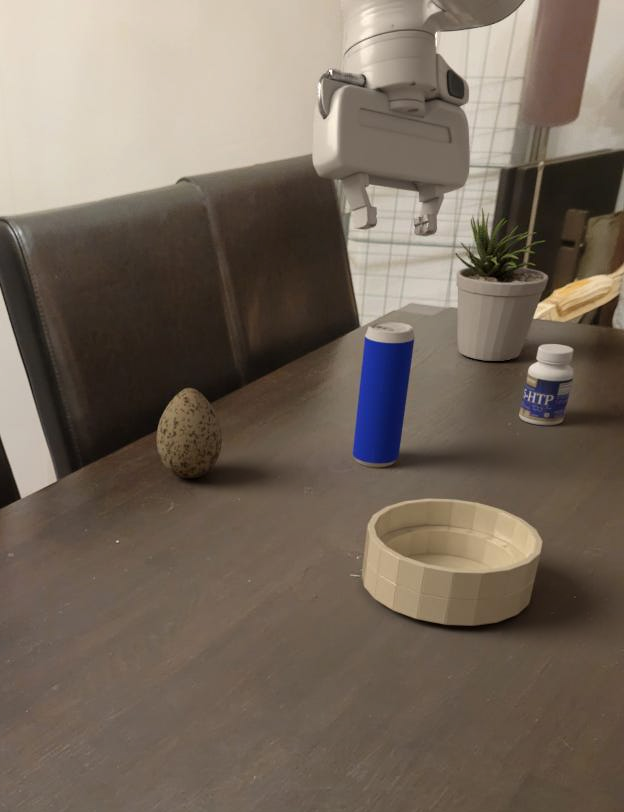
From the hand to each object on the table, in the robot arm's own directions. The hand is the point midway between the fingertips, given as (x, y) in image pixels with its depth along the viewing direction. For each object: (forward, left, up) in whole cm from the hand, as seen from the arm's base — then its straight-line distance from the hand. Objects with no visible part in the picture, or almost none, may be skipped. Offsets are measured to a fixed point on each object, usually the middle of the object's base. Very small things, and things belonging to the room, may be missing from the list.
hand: (396, 231), depth 96 cm
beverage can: (-1, 0, -25) cm, 25 cm away
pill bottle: (-23, -15, -25) cm, 37 cm away
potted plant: (-22, -44, -25) cm, 55 cm away
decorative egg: (+20, +6, -25) cm, 33 cm away
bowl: (-4, +30, -25) cm, 39 cm away
